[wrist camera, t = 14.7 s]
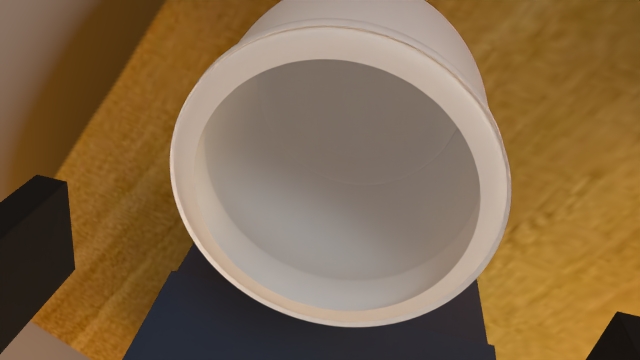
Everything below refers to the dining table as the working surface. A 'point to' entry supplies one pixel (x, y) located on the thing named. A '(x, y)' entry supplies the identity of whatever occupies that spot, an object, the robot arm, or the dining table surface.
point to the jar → (344, 162)
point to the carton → (292, 327)
